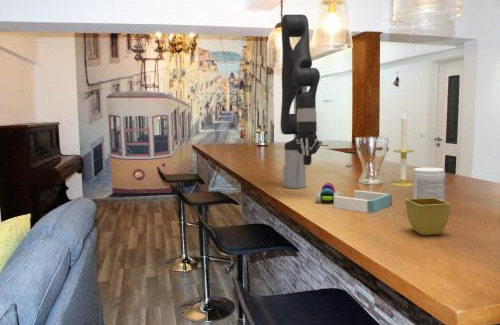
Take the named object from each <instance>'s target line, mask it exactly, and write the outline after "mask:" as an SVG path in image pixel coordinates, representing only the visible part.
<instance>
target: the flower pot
mask: <svg viewBox="0 0 500 325" xmlns="http://www.w3.org/2000/svg"><path fill="white" fill-rule="evenodd" d="M405 206H406V214H407V219H408V222H409V224H410V226H411V227H412V229H413V231H414V232H416V233H418V234H419V235H422V236H431V235H440V234H441V233H442V232H443V230H445V229H446V226H447V224H448V221H449V215H450V207H451V203H449V202H447V201H445V202H444V201H441V200H439V199H436V198H420V199H413V198H405Z"/></svg>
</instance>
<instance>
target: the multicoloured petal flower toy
mask: <svg viewBox="0 0 500 325" xmlns="http://www.w3.org/2000/svg"><path fill="white" fill-rule="evenodd" d="M334 196H341V193H340V192H339V190H336V188H335V186H334V184H333V183H331V182H326V183H325V184H323V185H322V187H321V190H320V191H318V193H317V194H316V195H315V201H316V202H317V203H318V204H321V203H322V202H323V201H333V202H334ZM341 197H342V196H341Z"/></svg>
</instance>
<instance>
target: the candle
mask: <svg viewBox="0 0 500 325" xmlns="http://www.w3.org/2000/svg"><path fill="white" fill-rule="evenodd" d="M400 122H401V123H400V124H401V125H400V126H401V127H400V128H401V132H400V134H401V137H400V149H395V150H393V152H394V153H400V172H399V174H400V181H399V182H396V181H395V182H392V183H391V186H394V187H398V188H399V187H401V188H402V187H403V188H405V187H406V188H407V187H408V188H410V187H413V182H407V163H408V162H407V154H408V153H409V154H410V153H413V152H415V150H414V149H413V150H412V149H407V124H408V122H407V117H406V114H405V112H403V114H402V117H401V120H400Z"/></svg>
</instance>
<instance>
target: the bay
mask: <svg viewBox="0 0 500 325" xmlns="http://www.w3.org/2000/svg"><path fill="white" fill-rule="evenodd" d="M352 195H353V197H348V196H334V201H333V208H334V209H340V210H347V211H354V212H359V213H368V214H374V213H376V212H378V211H381V210H384V209H385V208H389V207H390V206H392V204H393V203H392V202H393V194H392V193H386V192H385V193H383V192H375V191H368V190H367V191H365V190H357V189H355V190H353V194H352Z"/></svg>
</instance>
